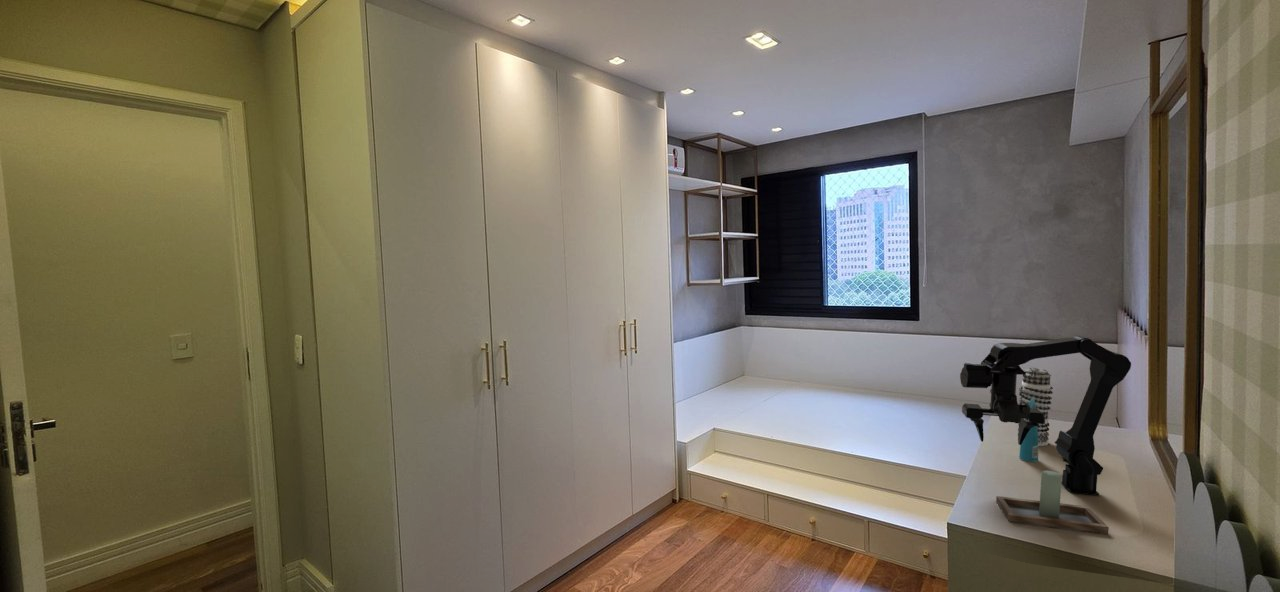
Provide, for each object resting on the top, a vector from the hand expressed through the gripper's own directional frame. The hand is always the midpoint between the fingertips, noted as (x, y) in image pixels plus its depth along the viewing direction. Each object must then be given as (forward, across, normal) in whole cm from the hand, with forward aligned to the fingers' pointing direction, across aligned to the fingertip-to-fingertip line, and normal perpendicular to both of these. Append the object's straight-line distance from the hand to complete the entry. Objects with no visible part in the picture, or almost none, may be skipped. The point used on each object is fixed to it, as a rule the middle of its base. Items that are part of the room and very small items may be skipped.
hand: (1000, 442), depth 153 cm
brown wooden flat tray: (+12, +6, -18) cm, 22 cm away
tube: (+12, +14, +22) cm, 29 cm away
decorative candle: (+12, +21, +40) cm, 47 cm away
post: (+12, +6, -18) cm, 22 cm away
